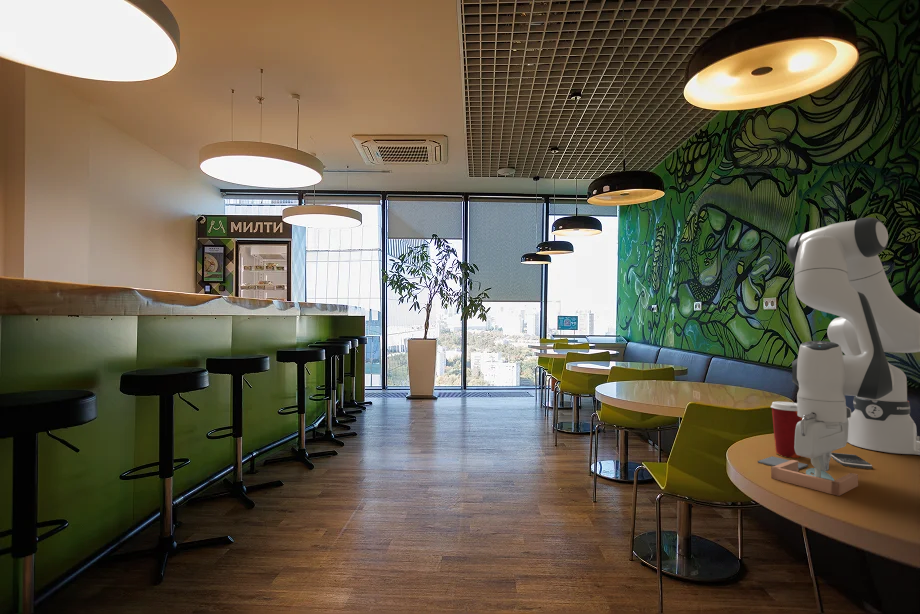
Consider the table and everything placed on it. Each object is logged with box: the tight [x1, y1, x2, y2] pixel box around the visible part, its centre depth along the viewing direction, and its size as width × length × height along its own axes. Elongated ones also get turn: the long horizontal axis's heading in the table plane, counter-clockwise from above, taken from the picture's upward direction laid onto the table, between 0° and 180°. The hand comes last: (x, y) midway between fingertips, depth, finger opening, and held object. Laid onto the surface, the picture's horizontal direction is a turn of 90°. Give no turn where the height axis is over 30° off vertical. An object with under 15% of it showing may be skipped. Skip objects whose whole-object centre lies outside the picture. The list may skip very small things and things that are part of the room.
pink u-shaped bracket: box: [770, 459, 859, 497], centre depth 101 cm, size 11×12×2 cm
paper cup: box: [770, 401, 803, 459], centre depth 122 cm, size 8×8×14 cm
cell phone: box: [831, 452, 873, 470], centre depth 116 cm, size 6×11×1 cm, turn 157°
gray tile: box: [757, 455, 809, 471], centre depth 113 cm, size 8×8×1 cm
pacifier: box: [805, 457, 836, 481], centre depth 99 cm, size 7×6×6 cm
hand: (821, 471), depth 103 cm, fingers closed
